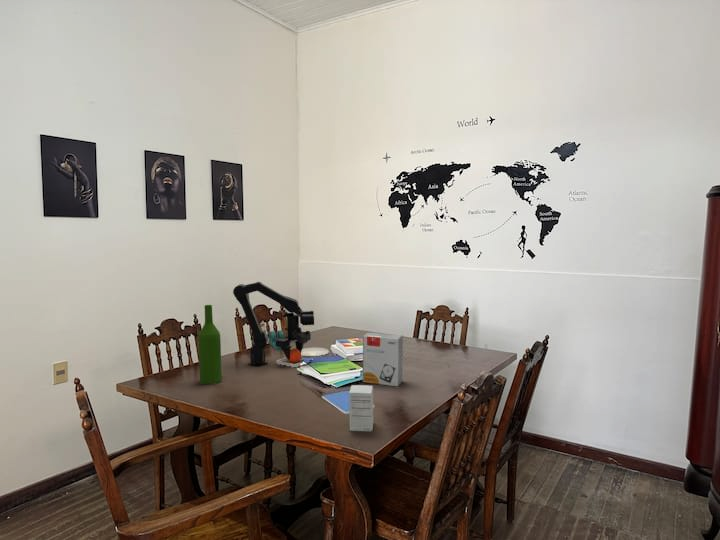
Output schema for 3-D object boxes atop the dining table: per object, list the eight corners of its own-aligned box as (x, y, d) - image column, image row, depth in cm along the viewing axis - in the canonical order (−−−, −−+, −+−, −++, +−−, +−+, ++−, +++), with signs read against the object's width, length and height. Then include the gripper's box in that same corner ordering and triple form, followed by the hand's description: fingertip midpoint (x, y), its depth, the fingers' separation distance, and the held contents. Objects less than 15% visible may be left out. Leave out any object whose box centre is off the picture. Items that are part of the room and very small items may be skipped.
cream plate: (314, 359, 236) (314, 357, 236) (291, 354, 245) (291, 352, 245) (335, 352, 249) (335, 350, 249) (311, 347, 258) (311, 346, 258)
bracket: (269, 344, 269) (269, 330, 268) (281, 342, 271) (280, 329, 271) (277, 351, 252) (277, 336, 252) (290, 350, 255) (289, 335, 254)
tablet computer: (375, 408, 171) (375, 405, 171) (345, 415, 165) (345, 412, 165) (349, 393, 188) (349, 389, 188) (320, 399, 182) (320, 395, 182)
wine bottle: (212, 376, 209) (210, 303, 206) (226, 380, 204) (223, 304, 201) (195, 382, 202) (192, 305, 199) (208, 385, 197) (206, 307, 194)
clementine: (285, 365, 225) (285, 350, 224) (284, 361, 231) (283, 347, 231) (302, 364, 227) (302, 349, 226) (300, 360, 233) (300, 346, 233)
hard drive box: (362, 382, 199) (361, 335, 197) (368, 377, 206) (367, 332, 204) (398, 386, 193) (398, 338, 192) (403, 381, 201) (403, 334, 199)
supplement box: (351, 421, 159) (351, 384, 158) (373, 422, 158) (373, 385, 157) (349, 431, 151) (348, 392, 150) (372, 431, 151) (372, 392, 150)
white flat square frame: (294, 367, 221) (294, 364, 221) (276, 363, 228) (276, 360, 228) (310, 362, 230) (310, 359, 230) (292, 358, 237) (292, 355, 237)
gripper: (291, 331, 216) (292, 365, 217) (318, 324, 231) (319, 355, 232) (274, 328, 222) (275, 361, 223) (301, 321, 237) (302, 352, 239)
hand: (293, 357), depth 229 cm, fingers closed on clementine, 7 cm apart
